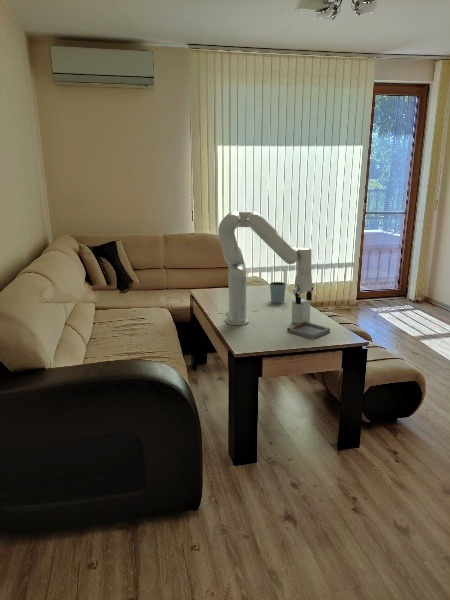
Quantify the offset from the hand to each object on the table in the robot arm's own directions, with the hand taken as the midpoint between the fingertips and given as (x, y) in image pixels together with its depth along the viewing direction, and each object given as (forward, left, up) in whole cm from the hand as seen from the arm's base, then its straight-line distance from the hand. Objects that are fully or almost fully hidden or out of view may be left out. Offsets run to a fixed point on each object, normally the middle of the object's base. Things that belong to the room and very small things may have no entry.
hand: (303, 302), depth 236 cm
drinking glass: (-38, +25, -12) cm, 47 cm away
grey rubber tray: (+12, -10, -12) cm, 19 cm away
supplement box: (-1, 0, -12) cm, 12 cm away
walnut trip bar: (+4, -10, -12) cm, 16 cm away
